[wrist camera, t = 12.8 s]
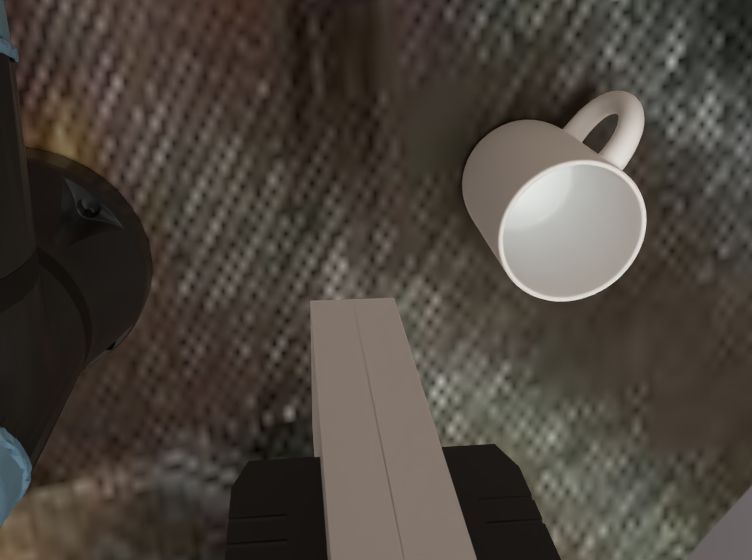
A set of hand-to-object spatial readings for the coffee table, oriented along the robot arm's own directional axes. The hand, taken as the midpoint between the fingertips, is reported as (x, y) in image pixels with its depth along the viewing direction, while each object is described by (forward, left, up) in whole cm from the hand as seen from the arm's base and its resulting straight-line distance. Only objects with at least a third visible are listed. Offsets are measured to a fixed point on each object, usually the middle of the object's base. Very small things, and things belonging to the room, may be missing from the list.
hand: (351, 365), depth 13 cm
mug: (+15, -5, -34) cm, 37 cm away
